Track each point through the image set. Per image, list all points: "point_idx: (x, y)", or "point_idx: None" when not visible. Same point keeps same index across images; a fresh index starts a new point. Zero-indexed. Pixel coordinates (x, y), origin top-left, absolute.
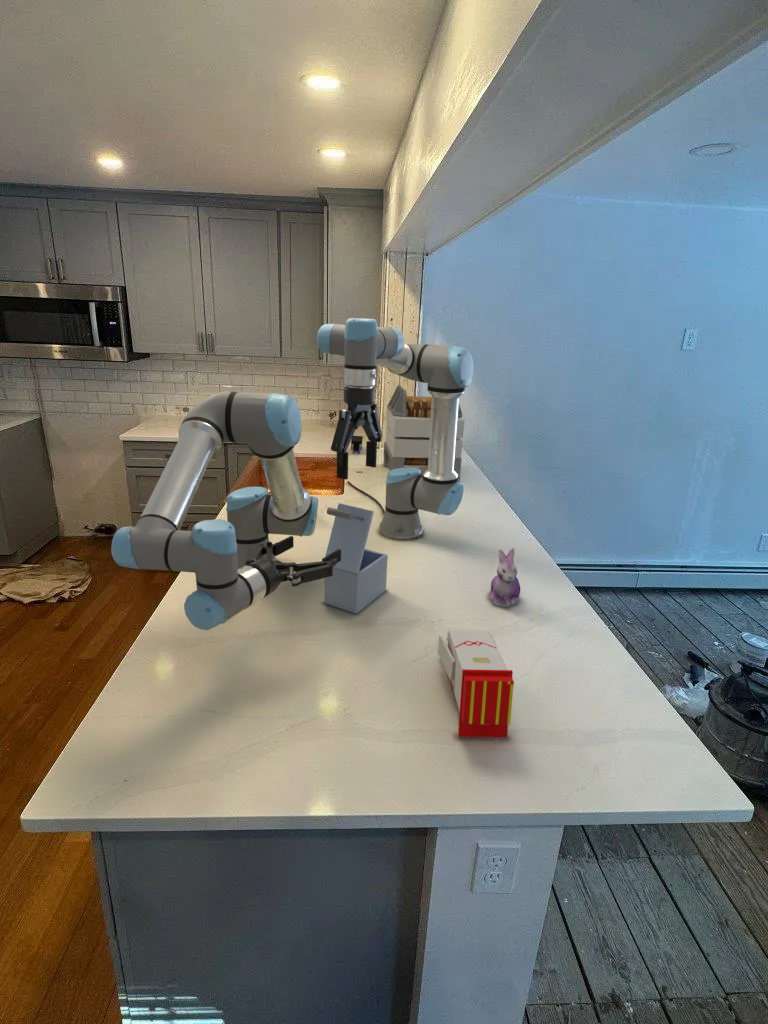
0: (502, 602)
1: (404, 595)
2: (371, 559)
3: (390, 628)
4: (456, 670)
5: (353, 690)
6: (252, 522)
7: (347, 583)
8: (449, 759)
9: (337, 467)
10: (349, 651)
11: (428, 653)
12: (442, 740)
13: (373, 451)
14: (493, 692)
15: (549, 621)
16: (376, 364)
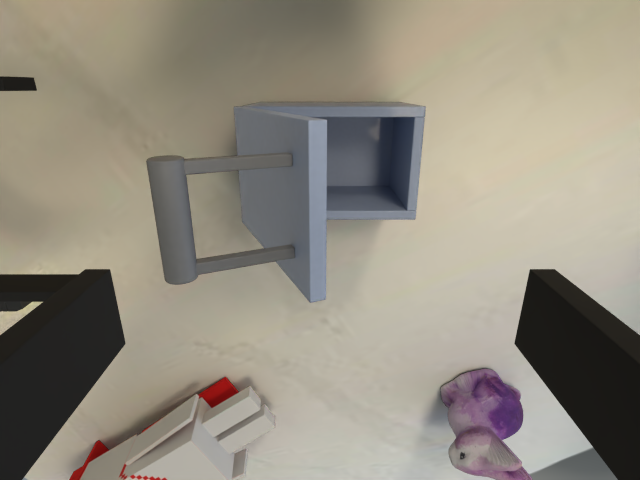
0: (446, 401)
1: (393, 236)
2: (405, 166)
3: (258, 272)
4: (116, 468)
5: None
6: None
7: None
8: (61, 443)
9: (29, 319)
10: (147, 249)
11: (229, 352)
12: (80, 429)
13: (604, 435)
14: None
15: (430, 459)
16: None
